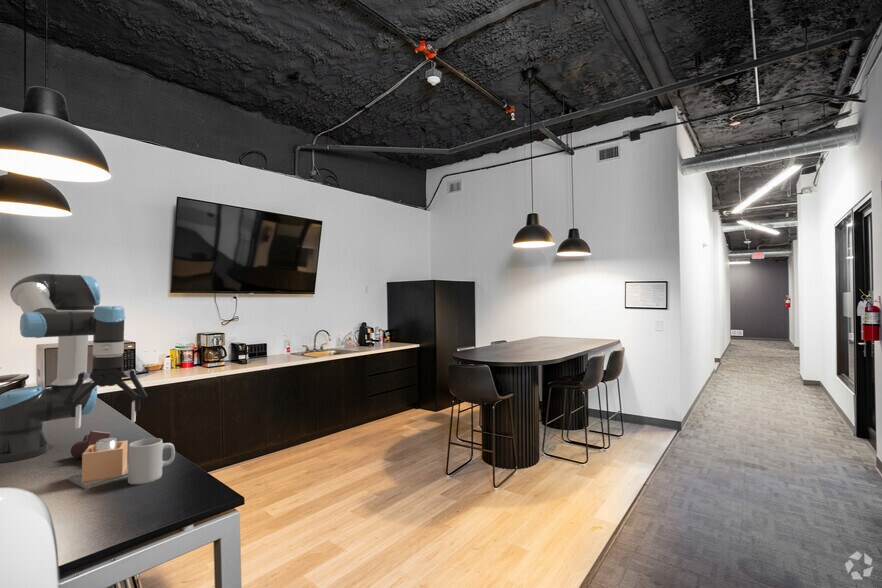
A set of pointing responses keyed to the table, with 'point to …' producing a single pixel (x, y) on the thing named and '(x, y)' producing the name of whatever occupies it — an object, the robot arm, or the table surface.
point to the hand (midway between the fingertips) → (106, 424)
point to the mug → (147, 460)
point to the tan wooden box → (104, 462)
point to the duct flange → (77, 479)
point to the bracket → (87, 442)
